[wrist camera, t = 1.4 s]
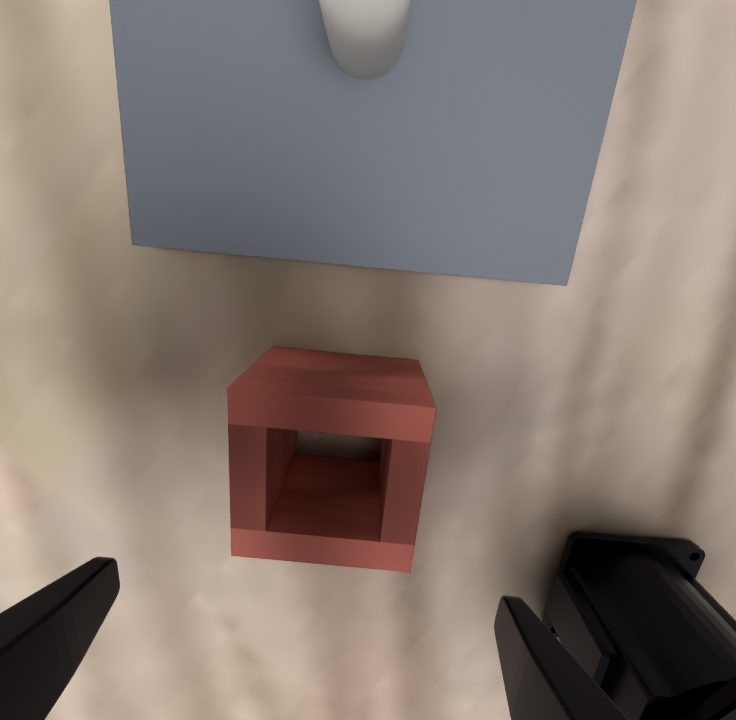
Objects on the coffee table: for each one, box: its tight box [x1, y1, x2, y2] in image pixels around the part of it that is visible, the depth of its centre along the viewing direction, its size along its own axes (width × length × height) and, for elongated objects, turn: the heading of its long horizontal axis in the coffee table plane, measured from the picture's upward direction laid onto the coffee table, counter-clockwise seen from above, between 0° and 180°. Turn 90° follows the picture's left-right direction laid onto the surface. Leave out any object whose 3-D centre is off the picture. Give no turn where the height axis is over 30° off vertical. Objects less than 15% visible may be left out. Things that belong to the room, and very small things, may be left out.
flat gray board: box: [109, 0, 637, 286], centre depth 10 cm, size 16×14×6 cm
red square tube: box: [227, 347, 436, 572], centre depth 14 cm, size 6×6×5 cm
